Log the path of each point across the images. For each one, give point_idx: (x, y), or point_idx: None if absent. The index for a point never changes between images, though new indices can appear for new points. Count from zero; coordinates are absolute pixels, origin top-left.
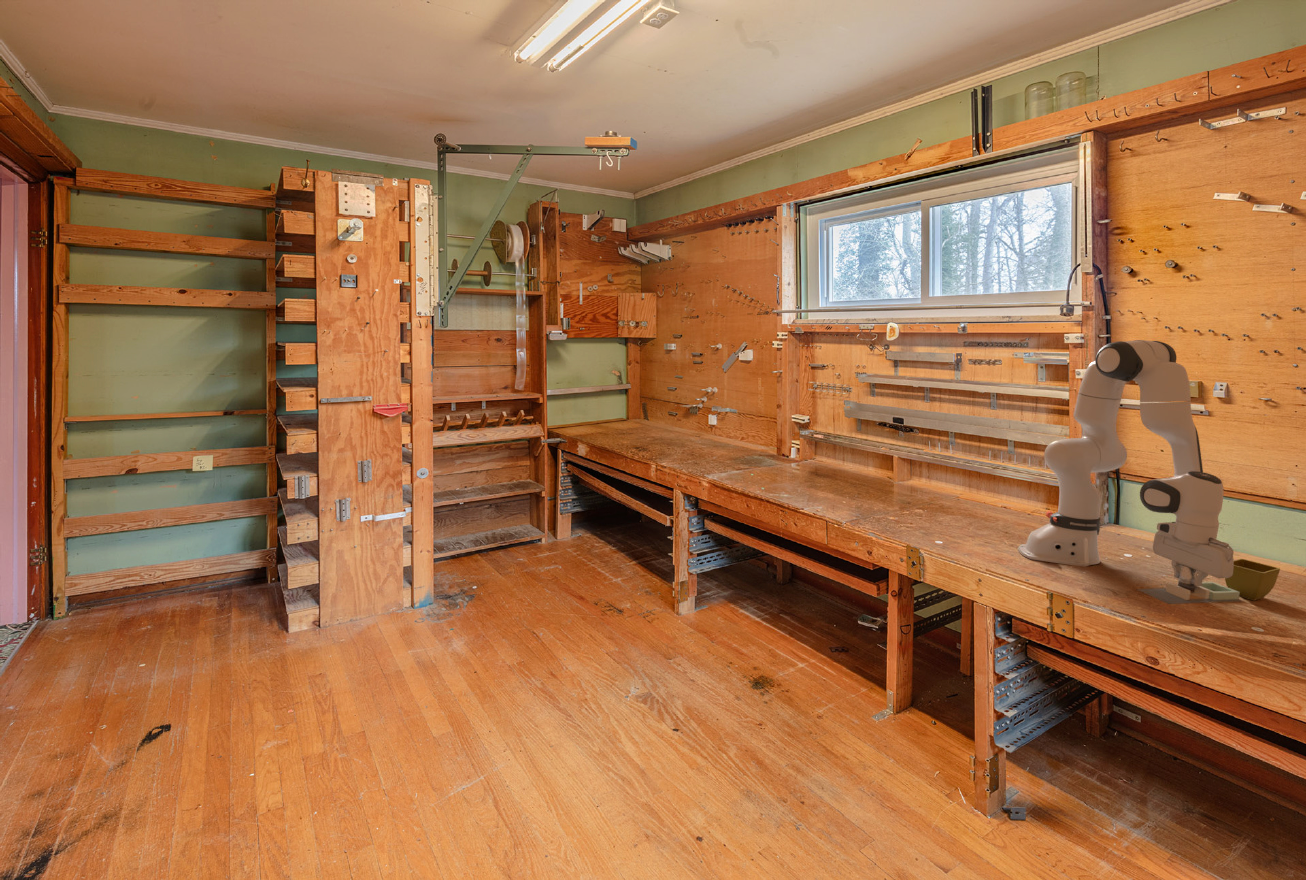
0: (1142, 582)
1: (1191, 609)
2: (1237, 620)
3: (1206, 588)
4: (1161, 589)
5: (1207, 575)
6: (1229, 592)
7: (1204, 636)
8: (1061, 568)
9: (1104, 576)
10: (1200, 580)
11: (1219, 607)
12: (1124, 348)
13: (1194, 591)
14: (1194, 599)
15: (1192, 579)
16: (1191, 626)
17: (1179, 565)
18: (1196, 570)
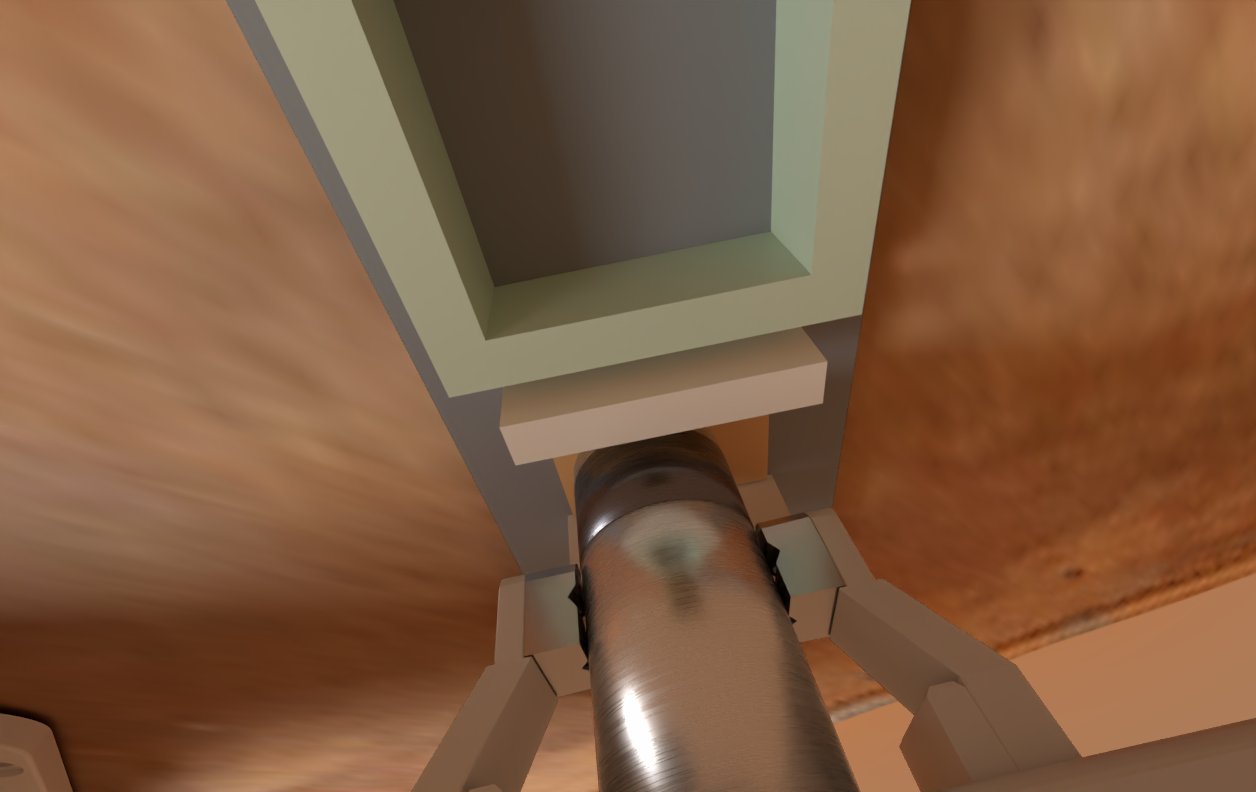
0: (256, 533)
1: (862, 488)
2: (1144, 308)
3: (691, 303)
4: (532, 545)
5: (1009, 668)
6: (909, 3)
7: (1123, 585)
8: (187, 774)
9: (234, 674)
10: (864, 590)
11: (891, 247)
12: None
13: (709, 436)
14: (770, 434)
15: (795, 628)
16: (1032, 584)
17: (476, 783)
18: (846, 759)
